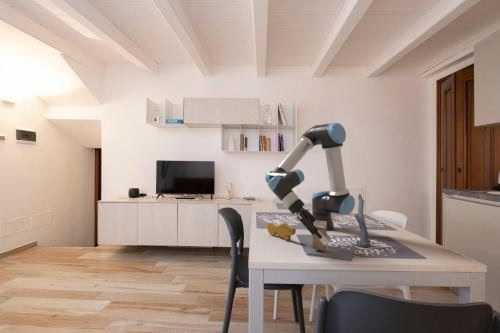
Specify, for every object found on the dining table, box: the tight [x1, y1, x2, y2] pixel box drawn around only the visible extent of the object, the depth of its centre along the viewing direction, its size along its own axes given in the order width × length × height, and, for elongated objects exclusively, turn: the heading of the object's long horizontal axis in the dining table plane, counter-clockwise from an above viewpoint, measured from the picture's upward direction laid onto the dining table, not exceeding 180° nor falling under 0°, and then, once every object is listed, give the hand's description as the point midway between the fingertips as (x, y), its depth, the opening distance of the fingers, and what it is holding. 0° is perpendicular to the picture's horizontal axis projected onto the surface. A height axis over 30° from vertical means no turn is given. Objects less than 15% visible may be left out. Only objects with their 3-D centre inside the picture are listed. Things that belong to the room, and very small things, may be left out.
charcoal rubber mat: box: [307, 245, 355, 261], centre depth 126 cm, size 14×18×1 cm
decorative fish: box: [266, 222, 297, 242], centre depth 150 cm, size 22×3×10 cm, turn 32°
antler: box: [354, 193, 372, 248], centre depth 140 cm, size 12×8×25 cm
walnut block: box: [312, 221, 327, 250], centre depth 127 cm, size 5×5×12 cm
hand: (328, 241), depth 125 cm, fingers closed on walnut block, 5 cm apart
